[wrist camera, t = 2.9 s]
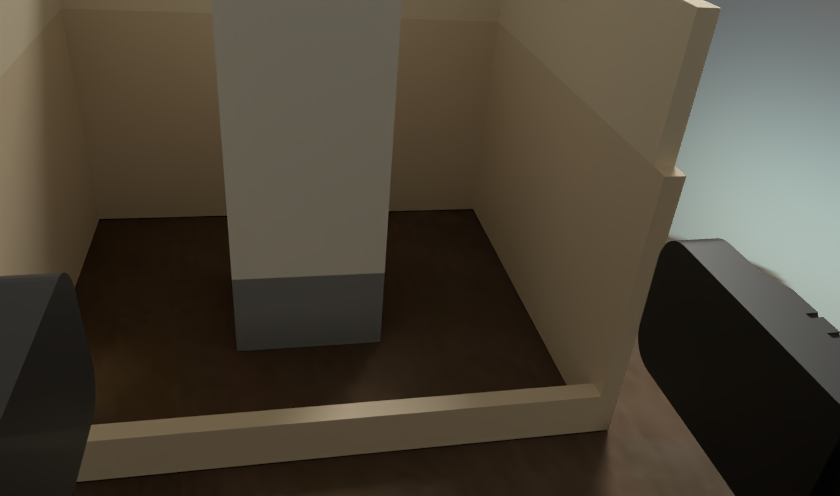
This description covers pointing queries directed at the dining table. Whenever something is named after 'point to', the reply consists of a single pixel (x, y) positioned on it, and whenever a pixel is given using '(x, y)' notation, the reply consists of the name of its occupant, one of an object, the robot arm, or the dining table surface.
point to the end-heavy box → (307, 165)
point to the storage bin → (409, 188)
